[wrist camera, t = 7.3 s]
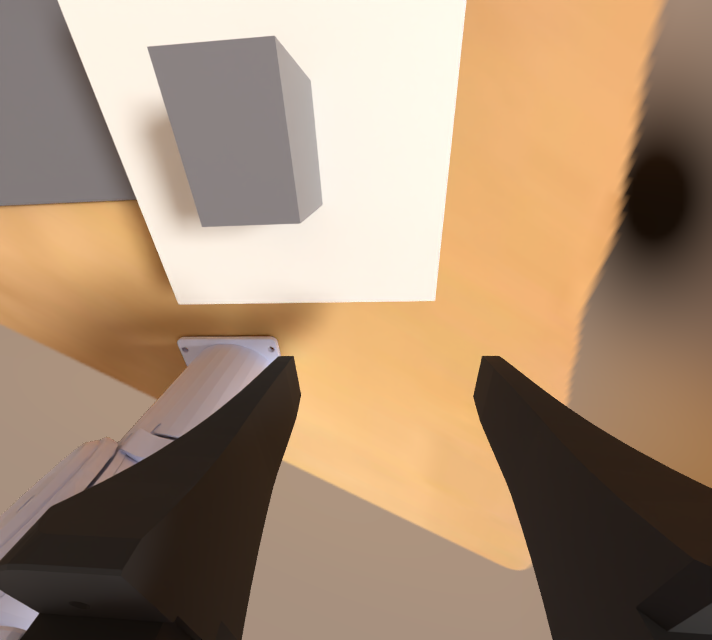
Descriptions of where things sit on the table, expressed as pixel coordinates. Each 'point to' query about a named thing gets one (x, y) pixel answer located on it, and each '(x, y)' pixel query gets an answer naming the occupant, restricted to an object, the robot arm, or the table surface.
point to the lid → (282, 139)
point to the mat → (51, 115)
